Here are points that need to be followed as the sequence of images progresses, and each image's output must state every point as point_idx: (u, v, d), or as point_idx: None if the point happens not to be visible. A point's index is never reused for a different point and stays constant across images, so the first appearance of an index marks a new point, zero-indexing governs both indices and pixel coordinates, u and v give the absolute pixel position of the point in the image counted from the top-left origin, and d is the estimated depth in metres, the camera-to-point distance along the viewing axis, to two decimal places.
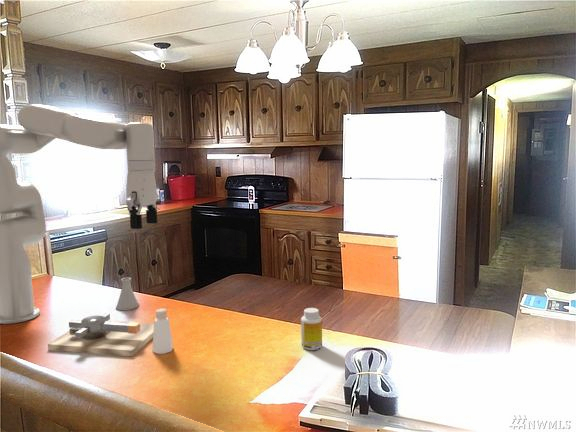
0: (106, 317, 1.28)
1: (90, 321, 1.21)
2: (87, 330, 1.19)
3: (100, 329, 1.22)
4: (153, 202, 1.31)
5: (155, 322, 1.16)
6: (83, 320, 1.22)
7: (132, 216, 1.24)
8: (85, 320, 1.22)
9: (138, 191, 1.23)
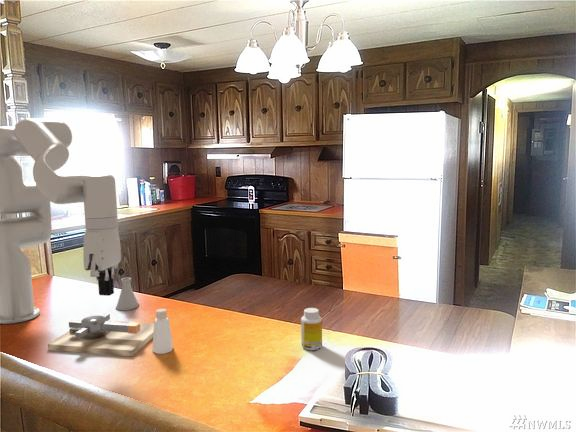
0: (106, 317, 1.28)
1: (90, 321, 1.21)
2: (87, 330, 1.19)
3: (100, 329, 1.22)
4: (116, 262, 1.15)
5: (155, 322, 1.16)
6: (83, 320, 1.22)
7: (100, 282, 1.12)
8: (85, 320, 1.22)
9: (96, 253, 1.08)
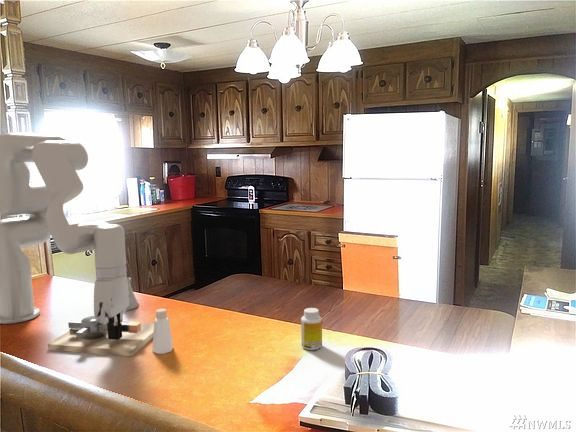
0: None
1: (90, 321, 1.21)
2: (87, 330, 1.19)
3: (100, 329, 1.22)
4: (125, 307, 1.20)
5: (155, 322, 1.16)
6: (83, 320, 1.22)
7: (109, 327, 1.17)
8: (85, 320, 1.22)
9: (106, 301, 1.13)
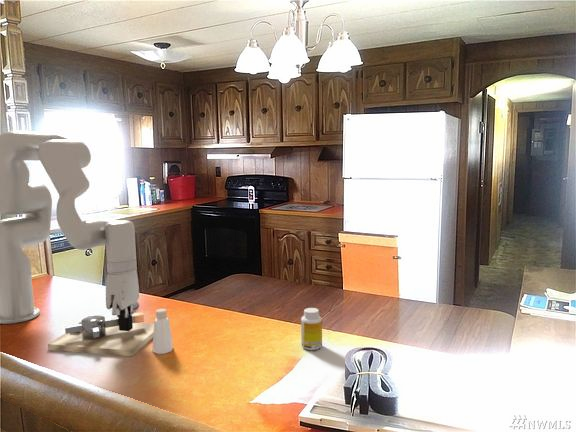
0: None
1: (93, 321, 1.22)
2: (97, 329, 1.20)
3: (104, 326, 1.23)
4: (135, 300, 1.25)
5: (155, 322, 1.16)
6: (84, 322, 1.21)
7: (120, 319, 1.23)
8: (87, 322, 1.21)
9: (117, 294, 1.18)
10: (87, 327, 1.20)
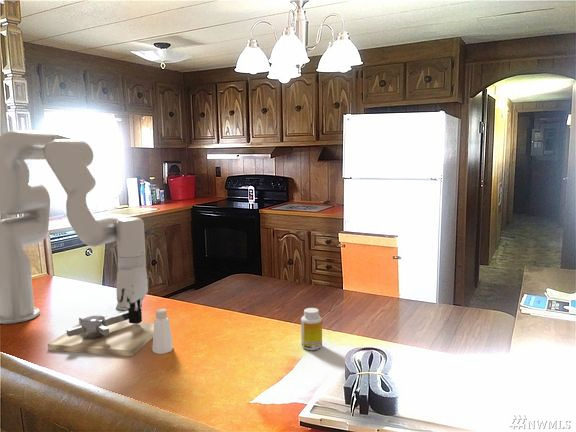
0: None
1: (95, 320, 1.22)
2: None
3: (105, 325, 1.24)
4: (144, 294, 1.30)
5: (155, 322, 1.16)
6: (87, 322, 1.20)
7: (130, 312, 1.28)
8: (90, 322, 1.21)
9: (128, 288, 1.23)
10: (91, 327, 1.20)
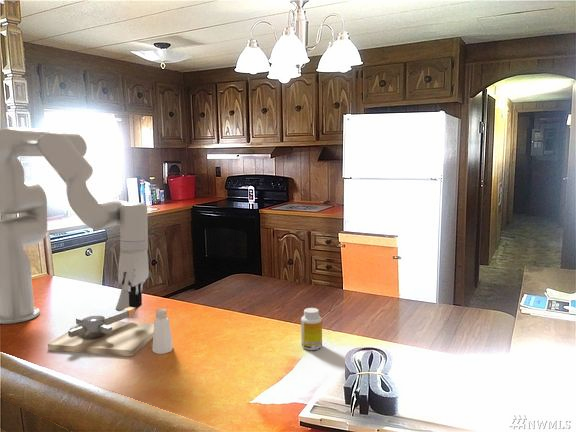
0: None
1: (96, 320, 1.22)
2: None
3: None
4: (145, 278, 1.32)
5: (155, 322, 1.16)
6: (88, 322, 1.20)
7: (131, 295, 1.29)
8: (91, 322, 1.21)
9: (130, 271, 1.25)
10: (93, 327, 1.20)
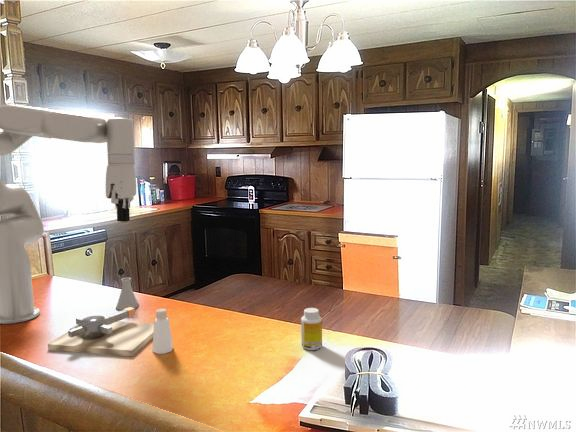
0: None
1: (96, 320, 1.22)
2: None
3: None
4: (132, 194, 1.36)
5: (155, 322, 1.16)
6: (88, 322, 1.20)
7: (118, 210, 1.33)
8: (91, 322, 1.21)
9: (116, 183, 1.29)
10: (93, 327, 1.20)
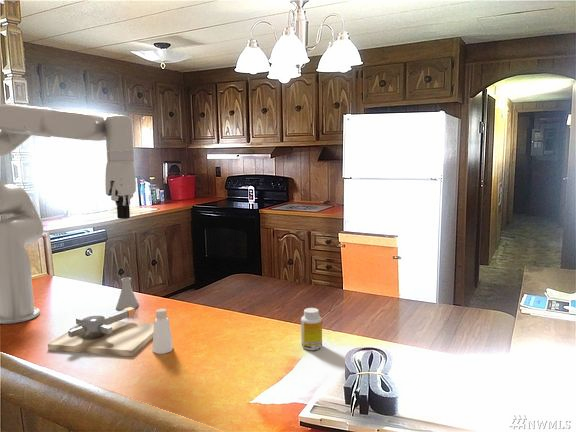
0: None
1: (96, 320, 1.22)
2: None
3: None
4: (132, 192, 1.36)
5: (155, 322, 1.16)
6: (88, 322, 1.20)
7: (119, 207, 1.34)
8: (91, 322, 1.21)
9: (116, 180, 1.29)
10: (93, 327, 1.20)
